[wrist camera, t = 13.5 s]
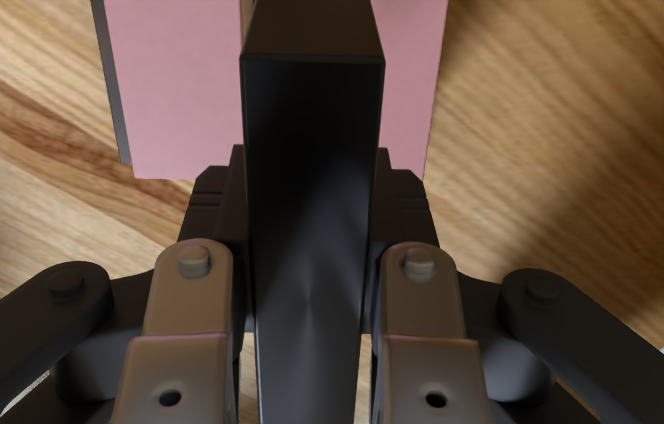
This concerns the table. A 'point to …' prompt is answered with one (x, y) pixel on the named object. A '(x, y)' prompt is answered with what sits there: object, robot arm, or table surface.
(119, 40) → the cake
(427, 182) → the table surface
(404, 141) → the slice
